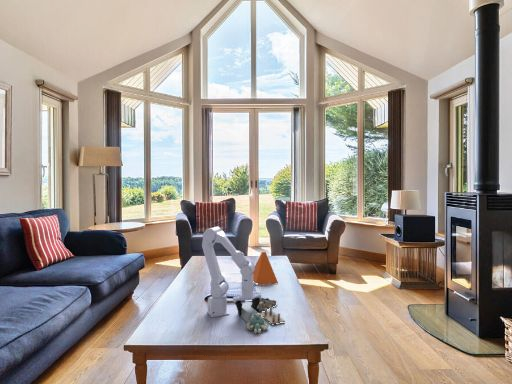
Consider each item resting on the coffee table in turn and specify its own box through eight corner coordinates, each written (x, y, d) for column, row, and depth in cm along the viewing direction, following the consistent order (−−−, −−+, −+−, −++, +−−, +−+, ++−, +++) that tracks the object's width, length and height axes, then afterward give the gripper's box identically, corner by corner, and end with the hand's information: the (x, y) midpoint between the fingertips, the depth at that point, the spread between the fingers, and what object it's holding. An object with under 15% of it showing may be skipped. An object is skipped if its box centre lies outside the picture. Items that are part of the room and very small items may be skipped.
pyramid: (249, 278, 229) (249, 250, 228) (270, 276, 234) (270, 248, 233) (255, 285, 214) (256, 255, 213) (278, 283, 219) (278, 253, 218)
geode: (276, 300, 189) (250, 300, 189) (276, 293, 189) (250, 293, 188) (280, 314, 170) (251, 314, 170) (280, 306, 170) (251, 306, 169)
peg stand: (272, 325, 155) (272, 317, 155) (260, 315, 167) (260, 307, 166) (284, 323, 158) (285, 314, 158) (272, 313, 170) (272, 305, 169)
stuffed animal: (245, 323, 144) (245, 308, 156) (245, 337, 146) (245, 321, 158) (269, 323, 145) (268, 308, 156) (269, 338, 146) (268, 321, 158)
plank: (248, 323, 158) (248, 312, 158) (237, 313, 168) (238, 304, 168) (256, 321, 160) (256, 311, 160) (245, 312, 170) (245, 302, 170)
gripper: (236, 291, 157) (236, 319, 157) (264, 288, 163) (263, 314, 164) (231, 287, 163) (231, 314, 164) (257, 283, 169) (257, 309, 170)
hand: (247, 314), depth 164 cm, fingers open, 7 cm apart
